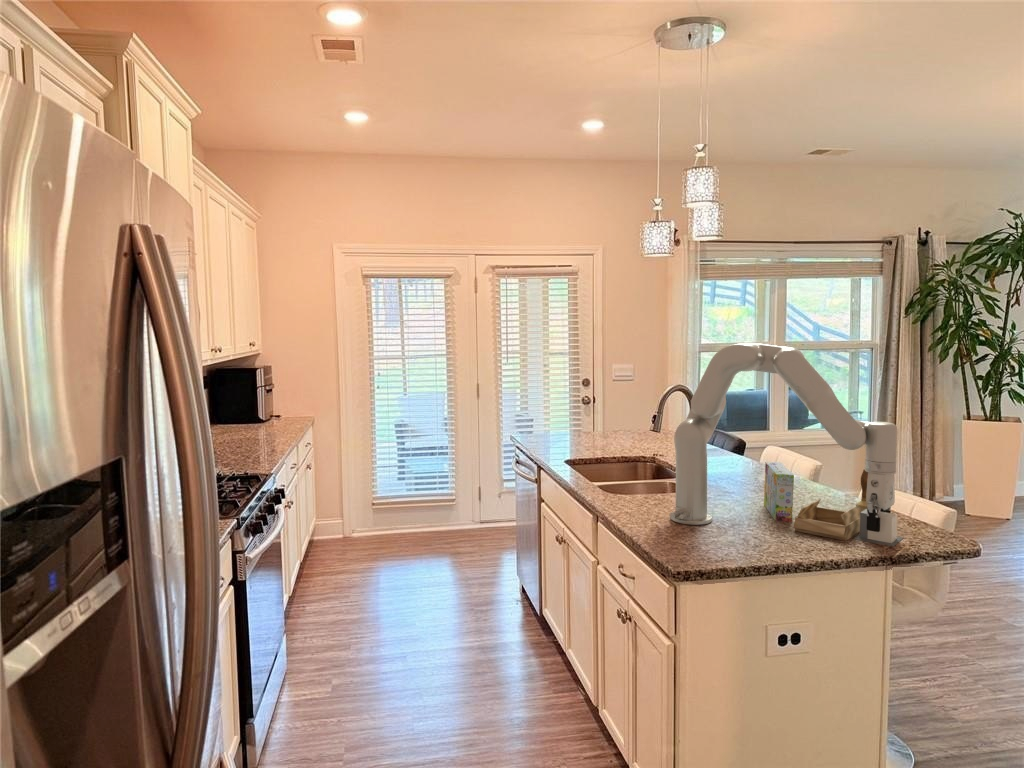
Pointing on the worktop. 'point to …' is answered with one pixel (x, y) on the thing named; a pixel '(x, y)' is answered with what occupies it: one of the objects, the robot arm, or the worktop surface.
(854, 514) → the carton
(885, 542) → the slate mat
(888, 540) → the white box
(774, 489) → the snack box
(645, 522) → the worktop surface
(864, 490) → the hand bell
